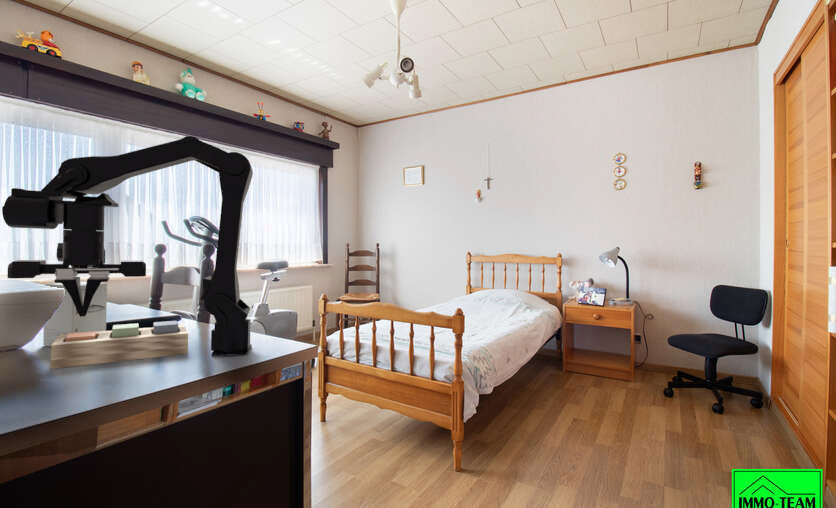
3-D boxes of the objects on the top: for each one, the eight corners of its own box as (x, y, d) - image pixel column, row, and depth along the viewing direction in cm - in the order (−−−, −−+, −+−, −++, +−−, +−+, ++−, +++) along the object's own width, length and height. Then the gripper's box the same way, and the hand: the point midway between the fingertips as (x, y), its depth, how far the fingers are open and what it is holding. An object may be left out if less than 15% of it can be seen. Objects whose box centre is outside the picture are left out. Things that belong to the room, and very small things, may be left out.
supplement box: (71, 349, 79) (72, 285, 79) (41, 346, 80) (42, 283, 80) (107, 340, 86) (108, 282, 86) (79, 338, 88) (80, 280, 87)
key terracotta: (96, 344, 76) (96, 331, 76) (94, 349, 72) (94, 335, 72) (68, 346, 73) (68, 333, 73) (65, 352, 70) (65, 337, 70)
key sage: (138, 335, 79) (138, 323, 79) (138, 340, 76) (138, 327, 76) (113, 337, 77) (113, 325, 77) (111, 342, 74) (112, 329, 74)
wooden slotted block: (183, 343, 86) (183, 324, 86) (187, 353, 79) (188, 333, 79) (59, 355, 75) (59, 334, 74) (51, 368, 67) (51, 345, 67)
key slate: (176, 332, 83) (176, 320, 83) (177, 336, 80) (178, 324, 80) (153, 334, 81) (153, 322, 81) (154, 338, 77) (154, 326, 77)
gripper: (145, 232, 84) (144, 306, 85) (23, 228, 74) (22, 312, 74) (146, 232, 75) (145, 315, 76) (7, 227, 64) (6, 323, 65)
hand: (82, 316), depth 73 cm, fingers closed
